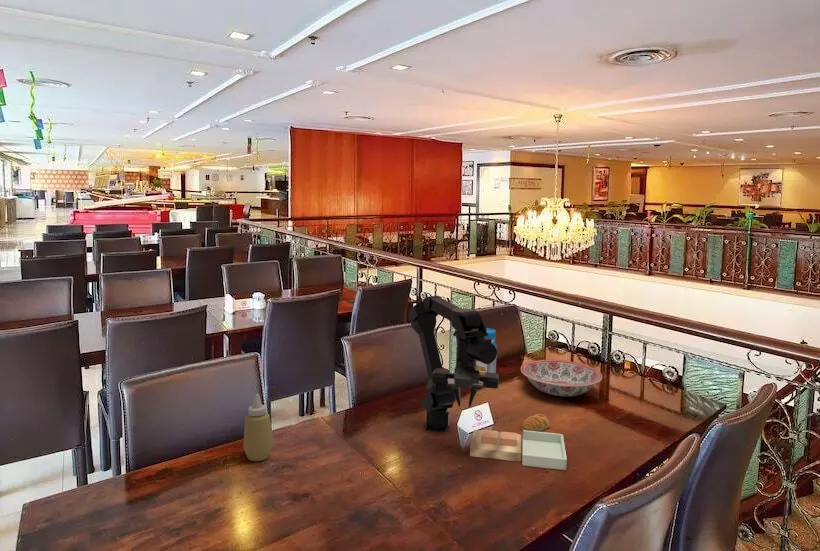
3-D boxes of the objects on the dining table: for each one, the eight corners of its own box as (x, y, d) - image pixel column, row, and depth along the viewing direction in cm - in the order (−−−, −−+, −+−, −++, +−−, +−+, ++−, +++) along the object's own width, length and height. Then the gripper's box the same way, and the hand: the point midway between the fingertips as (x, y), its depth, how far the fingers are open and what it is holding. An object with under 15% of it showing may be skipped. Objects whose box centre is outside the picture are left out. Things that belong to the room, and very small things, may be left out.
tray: (522, 465, 149) (522, 455, 149) (522, 439, 165) (523, 430, 164) (566, 470, 147) (566, 459, 147) (562, 443, 163) (562, 434, 162)
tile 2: (500, 444, 156) (500, 438, 155) (501, 437, 160) (501, 431, 160) (516, 446, 155) (516, 439, 155) (516, 439, 159) (517, 433, 159)
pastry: (532, 436, 168) (533, 424, 167) (515, 429, 173) (515, 417, 172) (551, 428, 174) (551, 416, 173) (533, 421, 179) (534, 410, 178)
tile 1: (481, 442, 157) (481, 436, 157) (482, 435, 161) (482, 429, 161) (496, 444, 156) (497, 437, 156) (497, 437, 160) (497, 431, 160)
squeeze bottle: (279, 452, 154) (278, 391, 151) (262, 466, 147) (260, 401, 144) (254, 447, 157) (253, 387, 154) (237, 460, 149) (235, 397, 146)
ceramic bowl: (609, 388, 209) (610, 368, 208) (588, 413, 185) (590, 391, 184) (535, 373, 225) (536, 355, 223) (507, 395, 200) (508, 374, 199)
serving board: (469, 456, 154) (470, 447, 154) (473, 437, 166) (473, 429, 165) (520, 461, 151) (521, 453, 151) (520, 442, 163) (521, 434, 163)
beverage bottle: (497, 383, 213) (499, 333, 210) (475, 382, 213) (477, 332, 210) (494, 375, 221) (496, 327, 218) (473, 375, 221) (475, 327, 218)
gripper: (429, 360, 150) (428, 414, 153) (498, 365, 147) (495, 420, 149) (435, 348, 161) (434, 399, 163) (499, 353, 157) (497, 405, 160)
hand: (464, 406), depth 159 cm, fingers open, 3 cm apart
